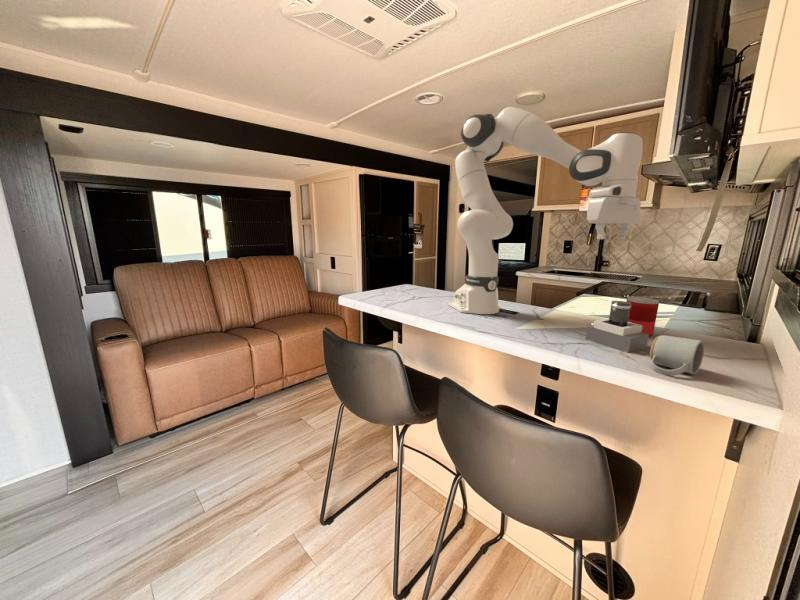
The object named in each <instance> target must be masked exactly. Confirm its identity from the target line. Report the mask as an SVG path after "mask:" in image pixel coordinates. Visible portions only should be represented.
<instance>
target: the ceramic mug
mask: <svg viewBox="0 0 800 600" xmlns="http://www.w3.org/2000/svg"><path fill="white" fill-rule="evenodd" d="M704 352H705V345H704V342H703V340H700V339H692V338H684V337H678V336H672V335H665V334H664V335H658V336H656V337H655V338H654V340H653V341H652V343H651V347H650V351H649V357H650V360H651V367H652V369H653V371H655V372H657V373H658V374H661V375H665V376H673V377H674V376H679V375H681V374H682V373H687V374H689V375H696V374H697V373H698V372H699V370H700V368H701V365H702V363H703V358H704ZM657 365H659V366H661V367H659V366H657ZM662 367H664V368H662ZM665 367H666V368H670V369H666V368H665Z"/></svg>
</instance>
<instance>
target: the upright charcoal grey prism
mask: <svg viewBox="0 0 800 600" xmlns="http://www.w3.org/2000/svg"><path fill="white" fill-rule="evenodd" d="M630 309H631V303H629V302H626V300H624V301H623V300H611V303H610V310H609V317H608V319H609V322H608V324H612V325H615V326H619V327H627V324H628V318H629V313H630Z"/></svg>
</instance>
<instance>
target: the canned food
mask: <svg viewBox="0 0 800 600" xmlns="http://www.w3.org/2000/svg"><path fill="white" fill-rule="evenodd" d="M625 302H629V303H631V309H630V313H629V318H628V322H630V323H634V324H639V325H642V328H641V332H642V333H645V334H649V336H648V338H649V337H651V336H652V335H653V334H654V331H655V326H656V322H657V321H656V320H657V315H658V311H659V305H660V301H659V300H658V299H655V298H650V297H644V296H643V297H642V296H629V297H627V298H626V300H625Z"/></svg>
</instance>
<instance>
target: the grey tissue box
mask: <svg viewBox="0 0 800 600" xmlns="http://www.w3.org/2000/svg"><path fill="white" fill-rule="evenodd" d="M608 322H609V318H604V319H598V320H594V322H591V324H590V325H587V326H586V332H585V333H586V334H585V340H589V341H591V342H595V343H598V344H599V345H604V346H607V347H610V348H613V349H616V350H619V351H622V352H626V353H632V352H637V351H641V350H645V349H647V347H648V346H647V345H648V340H649V337H648V336H649V334H645V333H642V332H641V328H642V325H639V324H634V323H630V322H628V324H627V327H619V326H615V325H612V324H608Z"/></svg>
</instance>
